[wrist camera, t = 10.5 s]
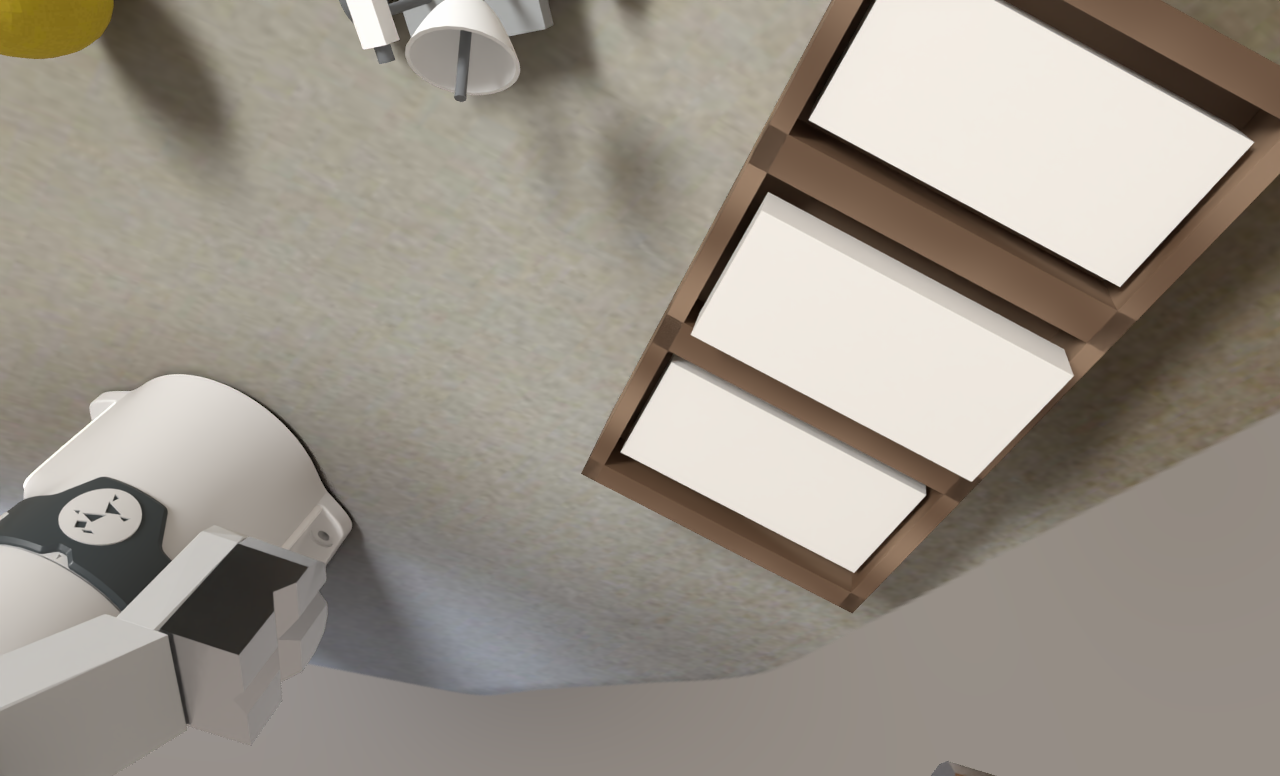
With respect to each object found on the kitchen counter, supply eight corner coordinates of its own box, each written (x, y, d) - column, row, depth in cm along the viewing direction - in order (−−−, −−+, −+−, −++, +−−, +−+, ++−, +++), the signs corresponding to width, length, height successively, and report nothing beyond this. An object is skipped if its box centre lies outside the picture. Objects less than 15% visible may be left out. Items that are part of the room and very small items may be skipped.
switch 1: (1108, 264, 32) (1119, 287, 30) (812, 106, 32) (808, 120, 30) (1233, 125, 29) (1254, 142, 27) (903, -55, 28) (904, -49, 26)
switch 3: (855, 545, 42) (854, 572, 41) (630, 428, 42) (620, 452, 40) (924, 468, 39) (926, 495, 37) (680, 340, 39) (671, 362, 37)
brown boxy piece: (860, 542, 46) (857, 615, 42) (611, 412, 46) (581, 473, 41) (1286, 69, 30) (1356, 107, 25) (906, -140, 29) (909, -138, 25)
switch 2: (967, 453, 36) (971, 482, 34) (699, 312, 35) (690, 334, 33) (1064, 349, 32) (1074, 376, 30) (768, 191, 32) (761, 210, 30)
